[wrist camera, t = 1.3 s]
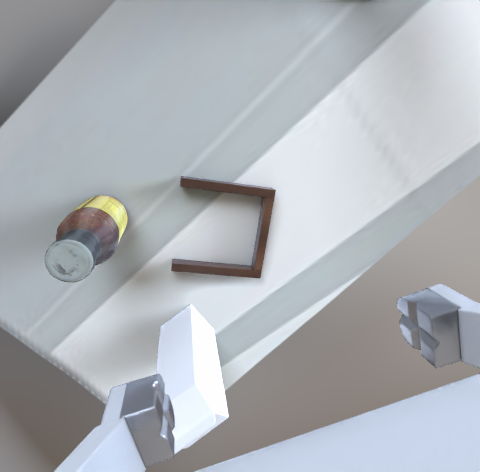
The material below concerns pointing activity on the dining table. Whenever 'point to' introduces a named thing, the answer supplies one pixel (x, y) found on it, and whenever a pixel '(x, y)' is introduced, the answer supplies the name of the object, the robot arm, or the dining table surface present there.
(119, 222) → the sauce bottle
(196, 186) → the bottle bay
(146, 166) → the dining table surface
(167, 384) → the milk
